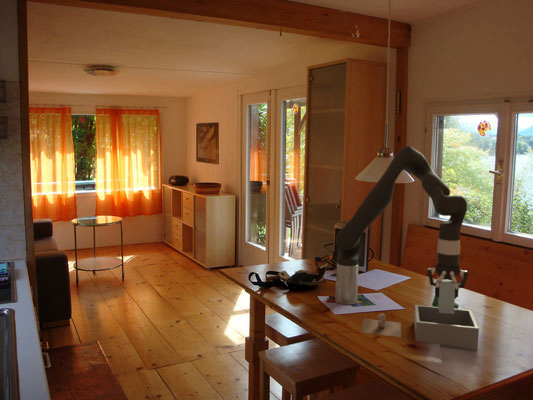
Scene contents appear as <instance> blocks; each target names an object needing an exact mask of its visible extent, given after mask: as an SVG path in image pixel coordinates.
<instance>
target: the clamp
mask: <svg viewBox="0 0 533 400" xmlns="http://www.w3.org/2000/svg"><path fill="white" fill-rule="evenodd" d="M431 306H433V307H438V298H437V296H435V295H434V297H433V300H432V304H431ZM454 309H459V304H458V303H457V302H455V307H454Z"/></svg>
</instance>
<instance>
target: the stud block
mask: <svg viewBox="0 0 533 400" xmlns="http://www.w3.org/2000/svg"><path fill="white" fill-rule="evenodd" d="M377 318H378V319H371V318H370V319H369V318H363V321H362V326H361V333H362V334H370V335H378V336H388V337H394V338H395V337H396V338H401V337H402V323H401V322H398V321H397V322H396V321H389V320H388V321H387V320H386V314H384V313H379V314H378V315H377Z"/></svg>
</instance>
